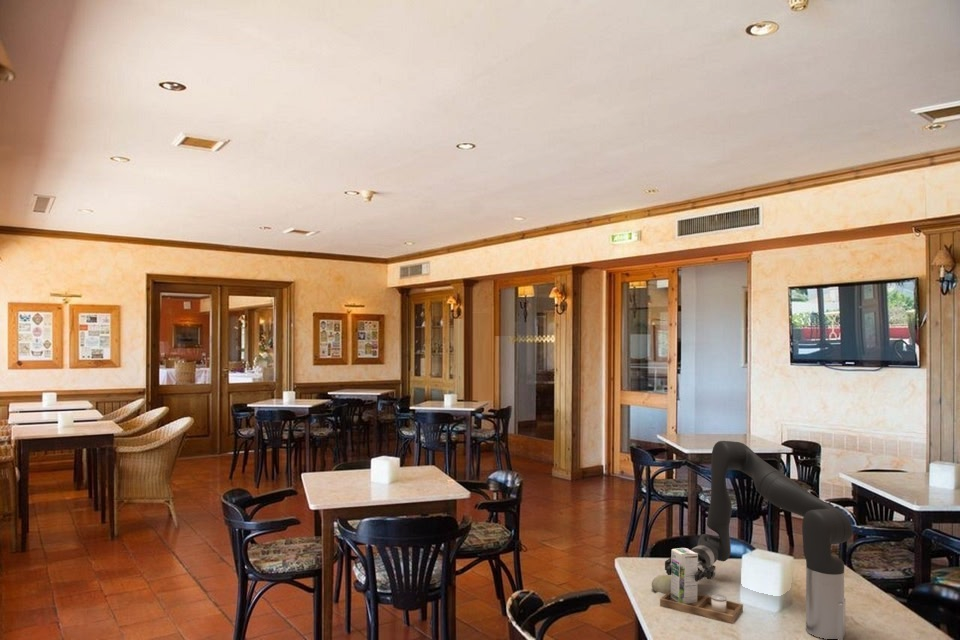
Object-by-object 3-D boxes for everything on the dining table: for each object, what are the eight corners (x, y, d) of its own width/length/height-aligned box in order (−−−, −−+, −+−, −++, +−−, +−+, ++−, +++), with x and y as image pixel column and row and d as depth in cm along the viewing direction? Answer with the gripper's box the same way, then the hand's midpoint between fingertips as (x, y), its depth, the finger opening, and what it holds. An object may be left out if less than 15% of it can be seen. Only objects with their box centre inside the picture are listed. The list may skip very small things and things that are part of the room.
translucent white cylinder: (728, 612, 193) (728, 596, 193) (724, 616, 189) (724, 600, 190) (713, 608, 195) (713, 593, 195) (709, 613, 192) (709, 597, 192)
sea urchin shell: (686, 592, 205) (667, 572, 207) (667, 609, 206) (649, 589, 208) (684, 582, 214) (666, 563, 216) (666, 598, 215) (648, 579, 217)
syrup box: (669, 597, 200) (670, 548, 200) (687, 595, 202) (687, 547, 202) (681, 605, 195) (681, 554, 195) (698, 603, 196) (698, 552, 197)
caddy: (742, 614, 194) (742, 604, 194) (732, 627, 185) (732, 616, 185) (672, 598, 206) (672, 588, 206) (659, 609, 196) (660, 599, 197)
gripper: (676, 543, 214) (658, 557, 201) (722, 552, 206) (706, 566, 193) (676, 567, 214) (658, 582, 201) (722, 577, 206) (706, 593, 193)
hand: (682, 574), depth 197 cm, fingers closed on syrup box, 7 cm apart
